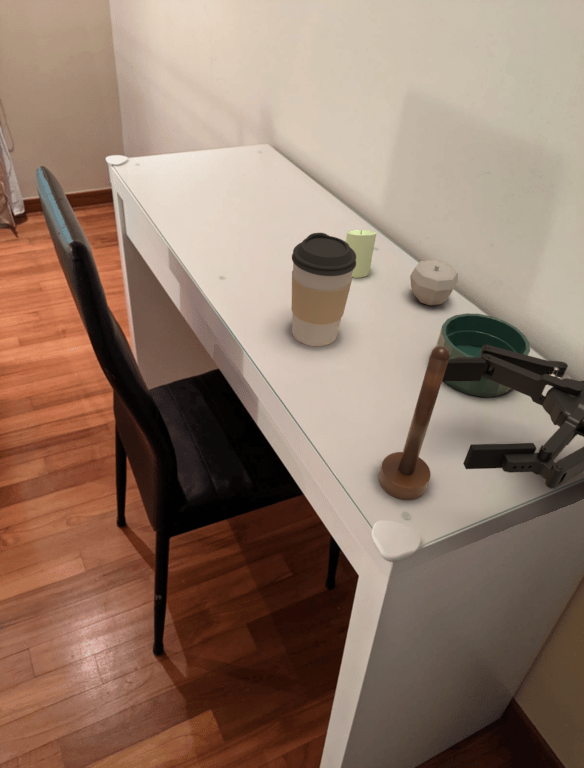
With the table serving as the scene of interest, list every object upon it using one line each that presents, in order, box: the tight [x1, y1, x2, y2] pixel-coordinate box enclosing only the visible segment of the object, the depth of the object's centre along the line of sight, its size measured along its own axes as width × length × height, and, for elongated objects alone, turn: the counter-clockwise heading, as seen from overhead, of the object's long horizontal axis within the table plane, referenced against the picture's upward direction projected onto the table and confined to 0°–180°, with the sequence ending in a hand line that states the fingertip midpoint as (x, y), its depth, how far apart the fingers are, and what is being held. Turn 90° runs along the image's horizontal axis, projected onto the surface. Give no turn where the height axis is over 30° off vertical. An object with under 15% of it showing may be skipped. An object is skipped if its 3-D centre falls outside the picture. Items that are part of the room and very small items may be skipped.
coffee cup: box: [291, 232, 356, 347], centre depth 88 cm, size 9×9×15 cm
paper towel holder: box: [378, 346, 450, 501], centre depth 65 cm, size 6×6×19 cm
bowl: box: [435, 312, 531, 398], centre depth 87 cm, size 12×12×6 cm
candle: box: [345, 229, 377, 279], centre depth 107 cm, size 5×5×8 cm
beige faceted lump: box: [409, 259, 459, 306], centre depth 102 cm, size 8×8×7 cm
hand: (446, 410), depth 65 cm, fingers open, 13 cm apart
